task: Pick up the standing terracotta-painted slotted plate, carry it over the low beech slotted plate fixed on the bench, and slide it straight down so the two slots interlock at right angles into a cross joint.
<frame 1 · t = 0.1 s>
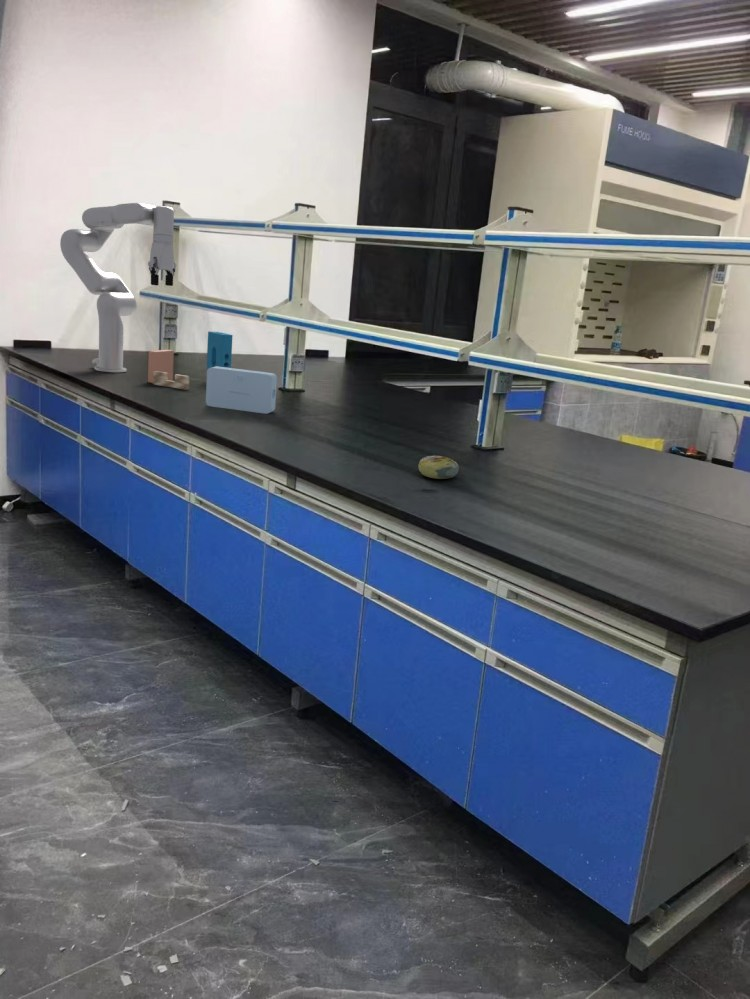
hand: (161, 285, 333), 37 cm above the worktop, fingers open, 9 cm apart
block: (217, 383, 347), on the worktop
terracotta plate: (160, 381, 336), on the worktop
cell model: (435, 477, 222), on the worktop
slot plate base: (170, 386, 325), on the worktop
pale blue box: (240, 409, 292), on the worktop
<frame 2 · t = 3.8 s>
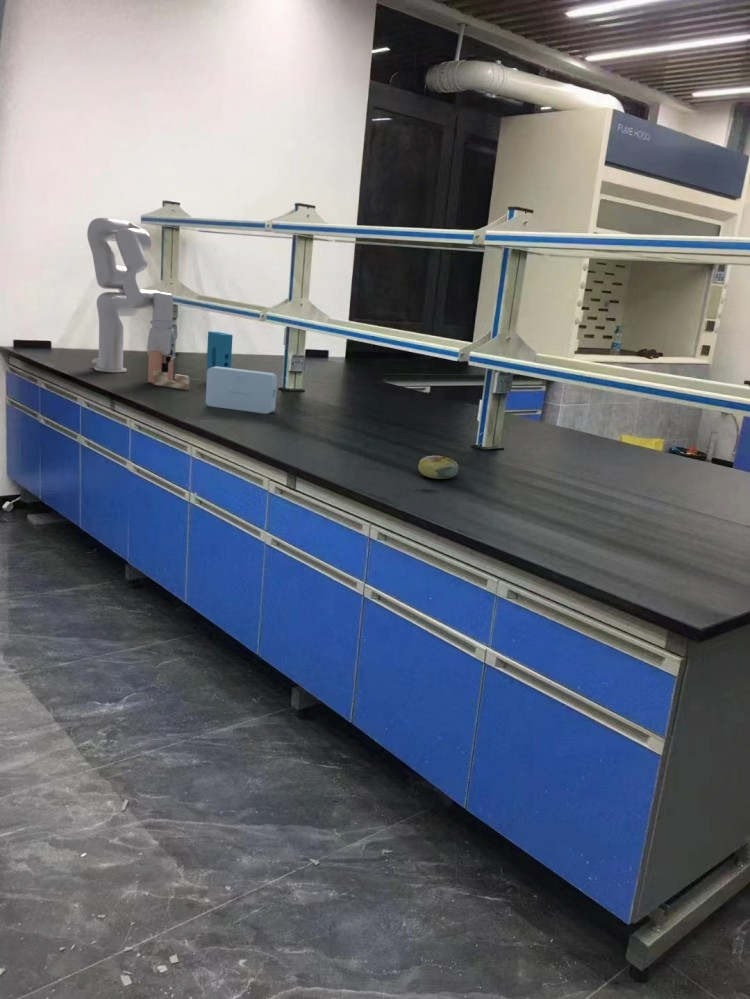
hand: (160, 371, 335), 4 cm above the worktop, fingers closed on terracotta plate, 3 cm apart
terracotta plate: (160, 381, 336), on the worktop, touching gripper
everything else where it was.
when the fingers open (5 cm above the worktop, at t = 8.6 s): terracotta plate drops 2 cm, on the worktop.
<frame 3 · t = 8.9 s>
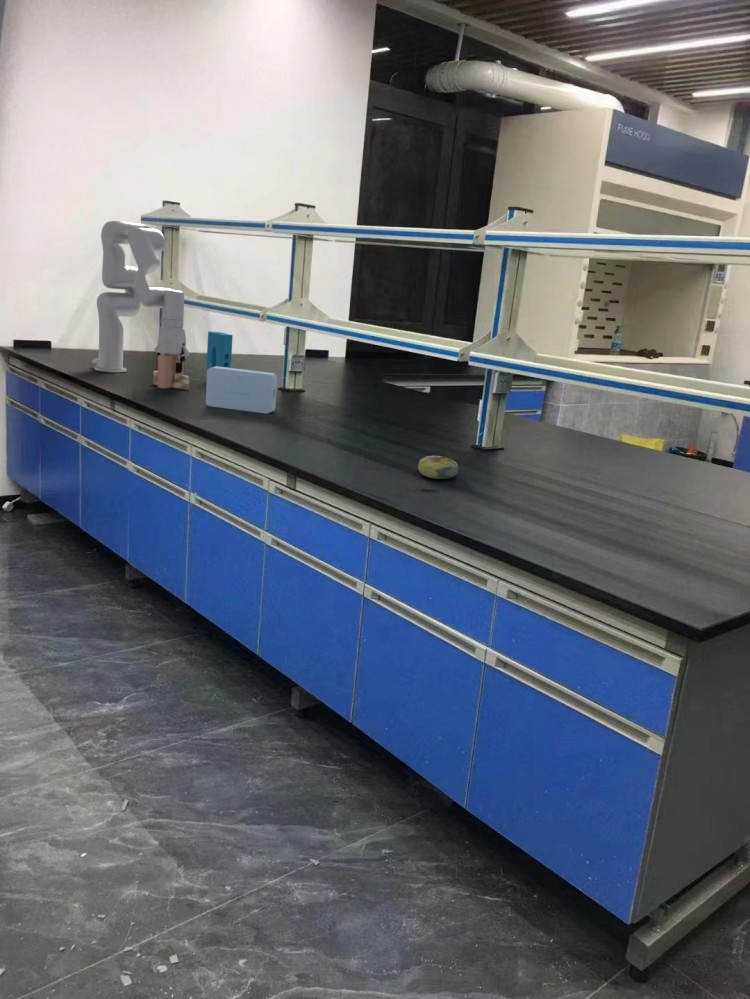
hand: (171, 371, 323), 6 cm above the worktop, fingers open, 6 cm apart
terracotta plate: (170, 386, 325), on the worktop
everything else where it was.
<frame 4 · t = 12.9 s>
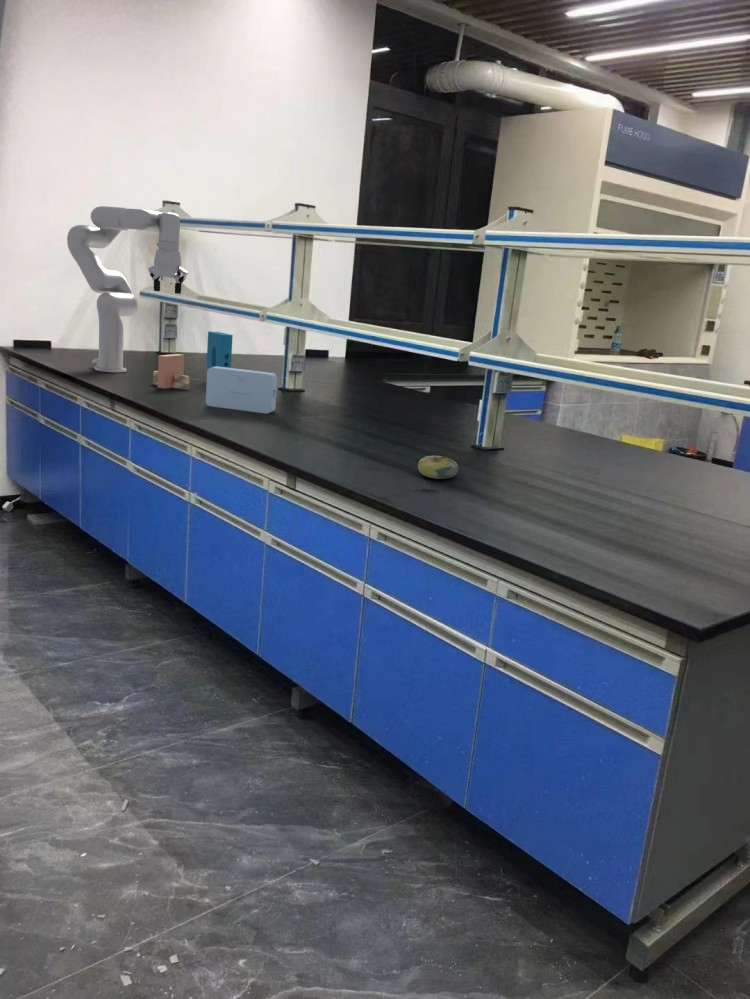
hand: (167, 292, 331), 34 cm above the worktop, fingers open, 9 cm apart
nothing on the worktop moved.
at the end: terracotta plate 0.2 cm off-centre on the slot plate base, point 0.0 cm above the slot plate base's base; terracotta plate tilted 0°; the gripper is holding nothing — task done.
